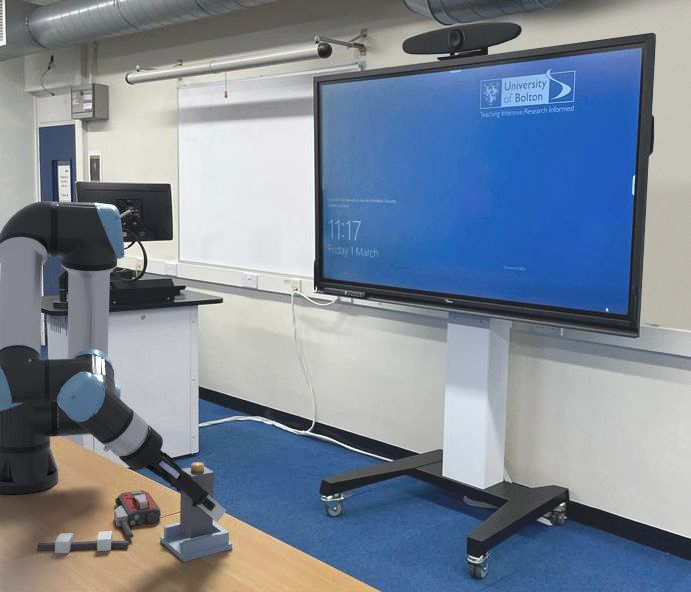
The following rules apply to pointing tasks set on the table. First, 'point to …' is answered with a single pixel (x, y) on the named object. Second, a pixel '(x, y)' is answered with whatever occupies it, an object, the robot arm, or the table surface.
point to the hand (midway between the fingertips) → (214, 511)
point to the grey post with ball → (192, 517)
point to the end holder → (195, 542)
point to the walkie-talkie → (135, 510)
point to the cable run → (83, 543)
